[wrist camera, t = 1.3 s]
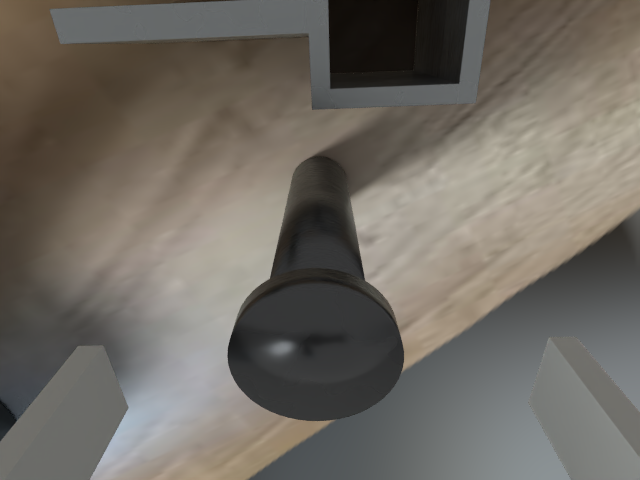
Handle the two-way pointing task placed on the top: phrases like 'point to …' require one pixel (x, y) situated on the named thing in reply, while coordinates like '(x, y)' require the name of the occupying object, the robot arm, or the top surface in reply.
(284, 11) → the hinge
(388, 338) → the pin
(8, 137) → the top surface
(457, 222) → the top surface
